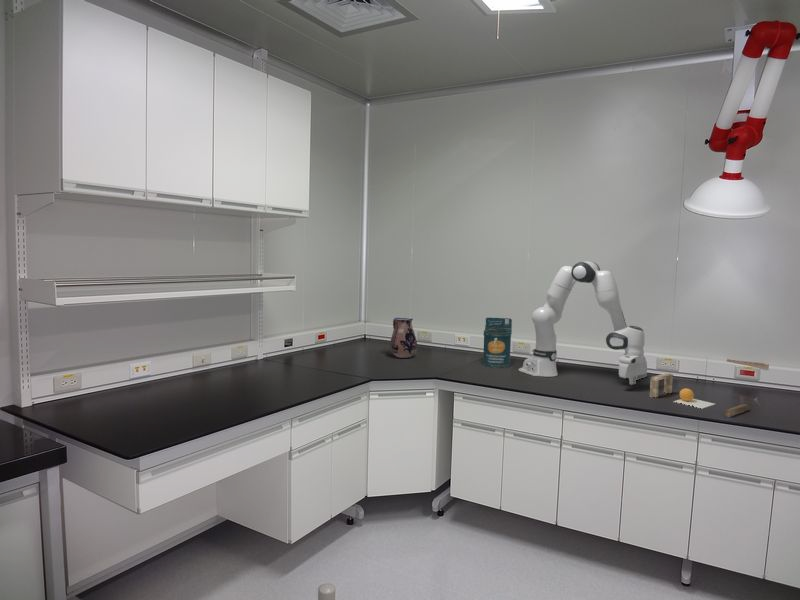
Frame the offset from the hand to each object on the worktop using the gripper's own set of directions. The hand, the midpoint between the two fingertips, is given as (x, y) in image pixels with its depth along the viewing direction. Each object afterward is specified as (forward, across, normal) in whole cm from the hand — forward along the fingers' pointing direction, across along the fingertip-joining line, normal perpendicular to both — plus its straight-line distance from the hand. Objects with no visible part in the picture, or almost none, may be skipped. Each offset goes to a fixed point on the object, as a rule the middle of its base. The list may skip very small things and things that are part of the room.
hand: (632, 384), depth 271 cm
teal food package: (+2, +20, -77) cm, 80 cm away
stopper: (+2, 0, +49) cm, 49 cm away
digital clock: (+2, -22, -11) cm, 24 cm away
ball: (-1, 0, +27) cm, 27 cm away
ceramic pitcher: (+2, +55, -128) cm, 139 cm away
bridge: (+2, 0, +15) cm, 15 cm away
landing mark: (+2, 0, +31) cm, 31 cm away
